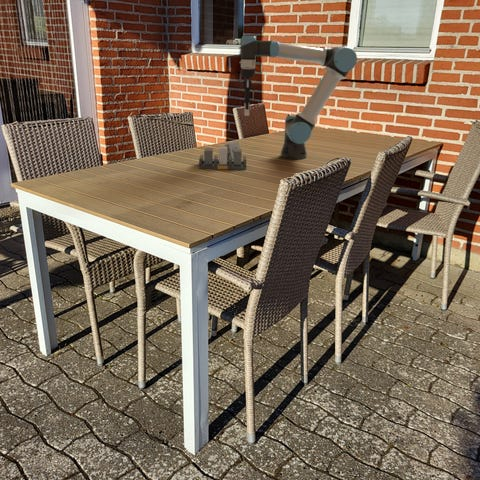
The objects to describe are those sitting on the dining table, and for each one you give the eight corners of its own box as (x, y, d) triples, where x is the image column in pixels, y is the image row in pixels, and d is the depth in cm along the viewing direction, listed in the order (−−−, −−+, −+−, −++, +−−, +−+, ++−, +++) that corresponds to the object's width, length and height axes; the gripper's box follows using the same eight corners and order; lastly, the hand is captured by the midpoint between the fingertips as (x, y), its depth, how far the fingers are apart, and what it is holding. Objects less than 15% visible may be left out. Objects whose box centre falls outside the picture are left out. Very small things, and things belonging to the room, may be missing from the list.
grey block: (227, 163, 252) (227, 146, 249) (227, 166, 244) (227, 149, 241) (219, 163, 252) (219, 146, 248) (219, 166, 244) (219, 149, 241)
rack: (245, 164, 255) (246, 147, 251) (246, 170, 242) (246, 152, 239) (200, 163, 254) (200, 146, 251) (198, 169, 242) (198, 151, 238)
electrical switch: (231, 160, 263) (230, 143, 260) (224, 159, 266) (223, 143, 263) (242, 157, 270) (241, 141, 267) (235, 157, 273) (234, 141, 270)
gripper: (240, 67, 251) (239, 113, 260) (240, 68, 239) (239, 116, 247) (254, 68, 251) (253, 114, 260) (255, 69, 239) (254, 117, 247)
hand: (246, 115), depth 253 cm, fingers closed
